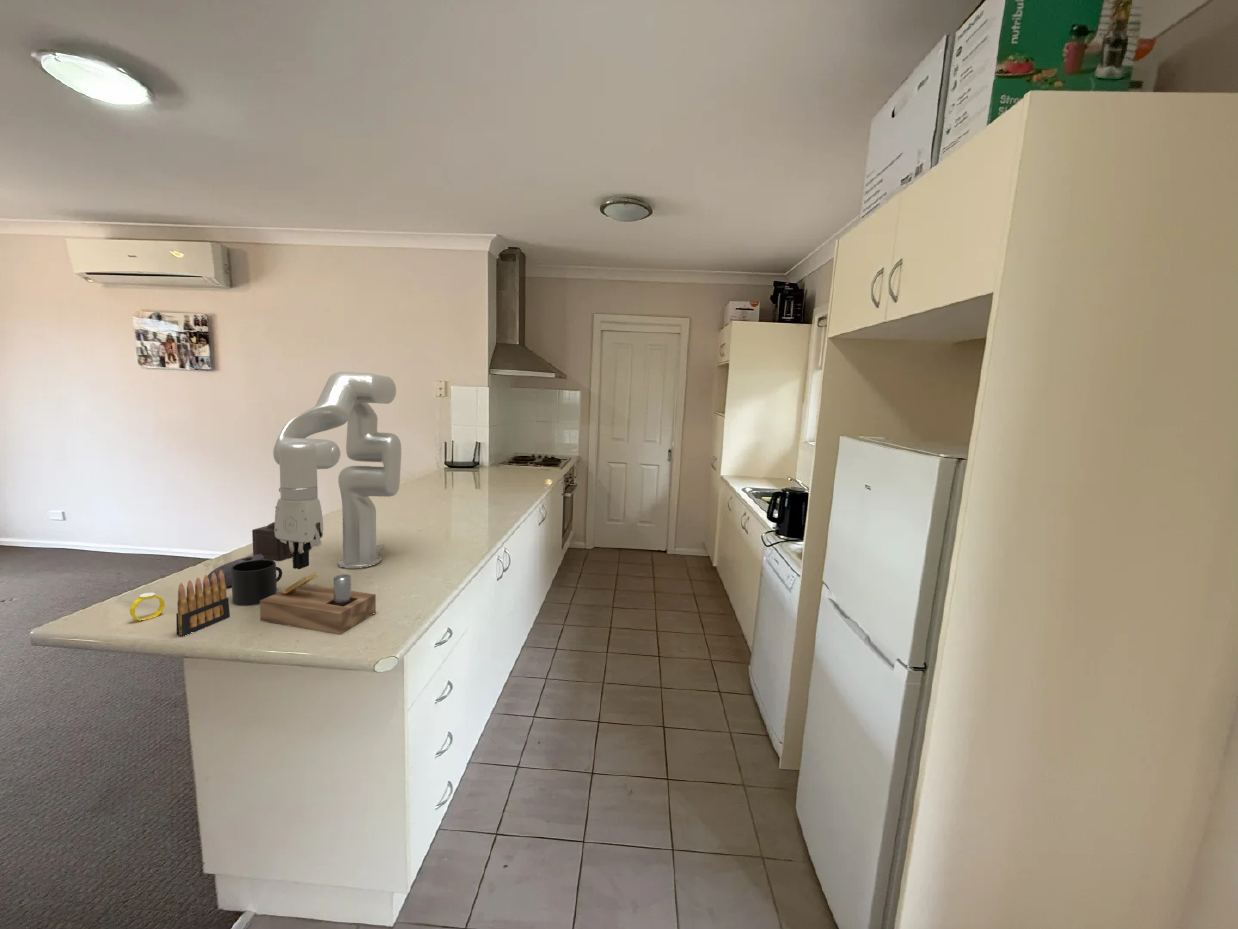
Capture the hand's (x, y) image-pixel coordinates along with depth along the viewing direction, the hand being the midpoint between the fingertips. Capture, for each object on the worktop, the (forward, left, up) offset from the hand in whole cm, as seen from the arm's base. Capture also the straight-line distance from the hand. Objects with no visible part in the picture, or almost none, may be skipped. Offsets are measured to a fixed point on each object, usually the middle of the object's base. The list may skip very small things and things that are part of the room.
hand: (301, 567), depth 122 cm
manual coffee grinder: (-36, -41, -12) cm, 56 cm away
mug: (-5, -18, -12) cm, 22 cm away
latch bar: (0, 0, -5) cm, 5 cm away
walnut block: (0, +5, -12) cm, 13 cm away
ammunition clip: (+12, -15, -12) cm, 23 cm away
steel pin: (0, +11, -12) cm, 17 cm away
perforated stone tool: (-10, -31, -12) cm, 35 cm away
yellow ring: (+13, -30, -12) cm, 35 cm away
